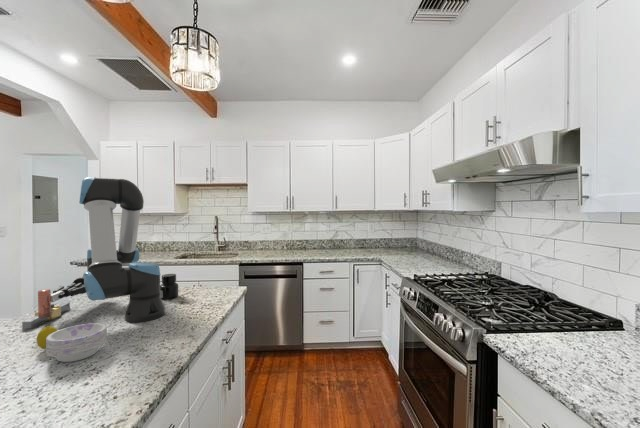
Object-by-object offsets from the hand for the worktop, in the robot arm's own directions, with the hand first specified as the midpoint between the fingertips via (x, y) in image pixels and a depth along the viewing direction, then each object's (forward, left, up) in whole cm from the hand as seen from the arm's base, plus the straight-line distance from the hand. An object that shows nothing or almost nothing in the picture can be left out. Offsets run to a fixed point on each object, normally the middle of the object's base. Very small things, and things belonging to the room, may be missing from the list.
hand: (50, 299), depth 119 cm
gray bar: (+8, -12, -11) cm, 19 cm away
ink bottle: (-34, -34, -12) cm, 49 cm away
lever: (+5, -5, -7) cm, 10 cm away
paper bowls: (-24, +27, -12) cm, 38 cm away
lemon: (-12, +21, -12) cm, 27 cm away
